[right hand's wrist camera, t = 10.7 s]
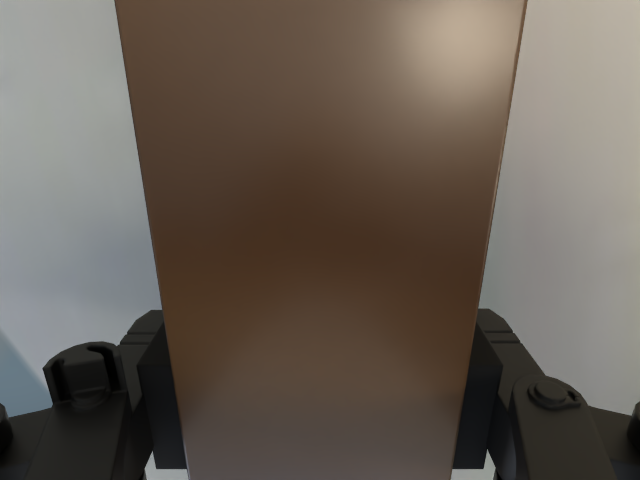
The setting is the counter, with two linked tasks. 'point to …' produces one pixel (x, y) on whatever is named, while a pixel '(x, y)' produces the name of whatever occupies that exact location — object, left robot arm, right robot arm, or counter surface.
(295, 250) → the bar
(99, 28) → the counter surface
